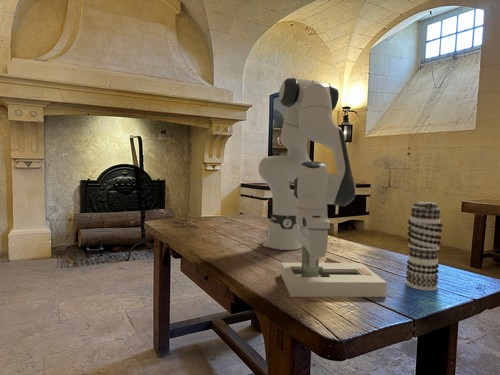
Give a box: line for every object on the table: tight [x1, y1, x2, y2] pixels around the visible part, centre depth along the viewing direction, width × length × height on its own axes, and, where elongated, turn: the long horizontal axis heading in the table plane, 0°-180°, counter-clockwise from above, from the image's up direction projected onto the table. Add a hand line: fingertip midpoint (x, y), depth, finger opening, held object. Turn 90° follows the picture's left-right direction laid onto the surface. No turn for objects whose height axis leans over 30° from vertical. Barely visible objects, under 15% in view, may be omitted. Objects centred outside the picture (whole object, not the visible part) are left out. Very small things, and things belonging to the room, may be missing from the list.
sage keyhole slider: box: [294, 246, 323, 277], centre depth 98 cm, size 8×8×10 cm
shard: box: [324, 257, 341, 263], centre depth 119 cm, size 11×8×2 cm
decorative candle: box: [405, 201, 444, 292], centre depth 100 cm, size 9×9×25 cm
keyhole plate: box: [280, 262, 388, 298], centre depth 99 cm, size 18×26×4 cm
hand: (309, 264), depth 98 cm, fingers closed on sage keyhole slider, 4 cm apart
